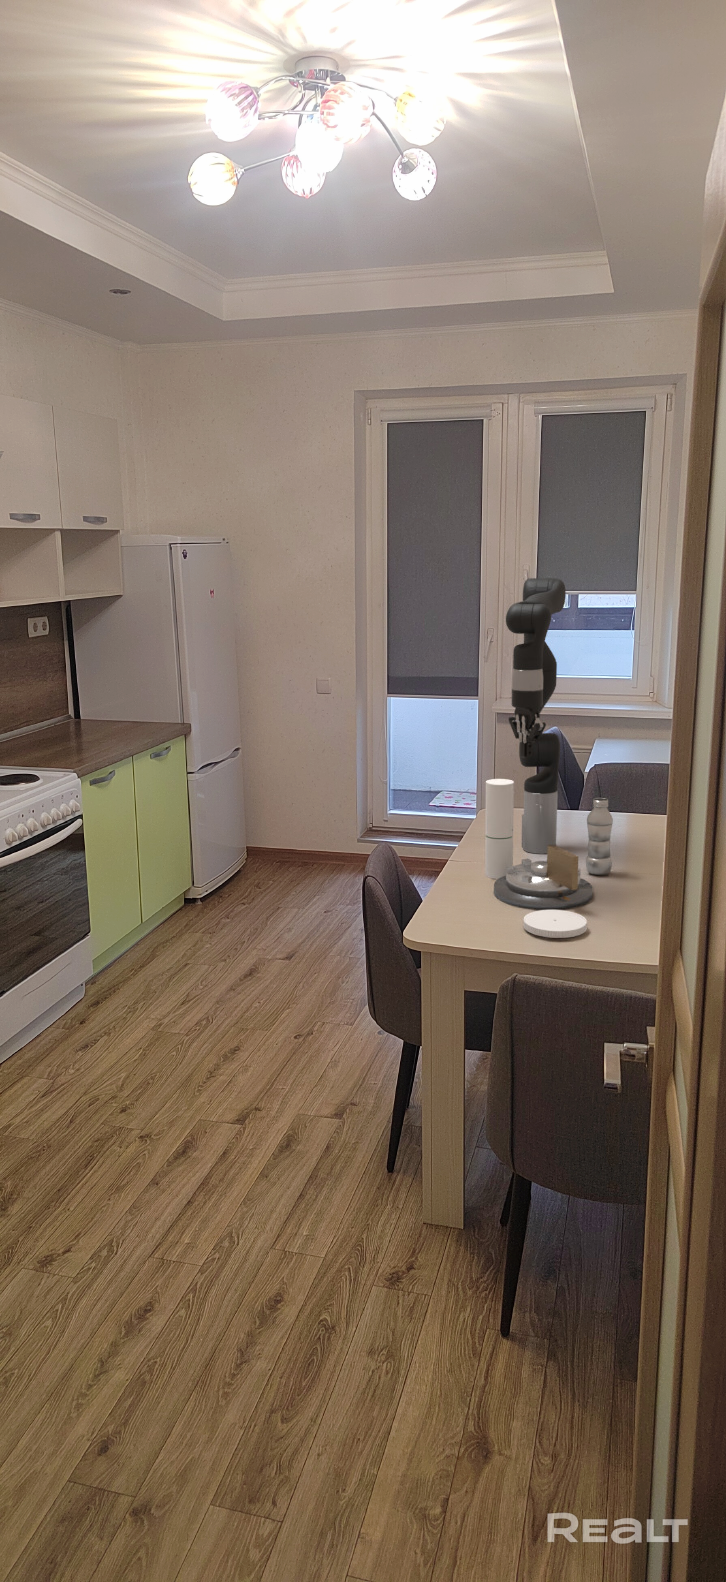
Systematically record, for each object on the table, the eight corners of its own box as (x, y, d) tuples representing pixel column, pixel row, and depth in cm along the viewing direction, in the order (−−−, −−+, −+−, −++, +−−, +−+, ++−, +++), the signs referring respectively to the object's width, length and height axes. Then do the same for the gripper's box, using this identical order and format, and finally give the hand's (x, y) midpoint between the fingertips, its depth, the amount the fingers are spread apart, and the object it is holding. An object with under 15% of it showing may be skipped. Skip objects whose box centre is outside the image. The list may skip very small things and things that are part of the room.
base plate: (476, 886, 264) (476, 877, 263) (558, 874, 272) (559, 866, 272) (524, 915, 242) (524, 906, 241) (612, 901, 250) (612, 893, 250)
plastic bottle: (612, 878, 268) (614, 802, 263) (585, 877, 269) (587, 802, 265) (611, 870, 274) (614, 796, 270) (585, 869, 275) (587, 796, 271)
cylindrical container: (514, 872, 274) (516, 779, 269) (509, 880, 268) (510, 785, 262) (488, 869, 277) (489, 778, 271) (482, 877, 270) (483, 784, 265)
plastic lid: (516, 921, 239) (516, 911, 239) (575, 918, 240) (576, 908, 240) (532, 944, 226) (532, 933, 225) (595, 940, 227) (595, 929, 226)
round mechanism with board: (493, 879, 261) (493, 837, 259) (554, 870, 268) (555, 828, 265) (540, 907, 241) (541, 861, 238) (606, 896, 247) (608, 852, 245)
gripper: (556, 689, 248) (554, 760, 252) (524, 683, 260) (523, 751, 264) (530, 691, 245) (529, 763, 249) (499, 685, 257) (498, 754, 261)
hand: (526, 757), depth 257 cm, fingers closed
